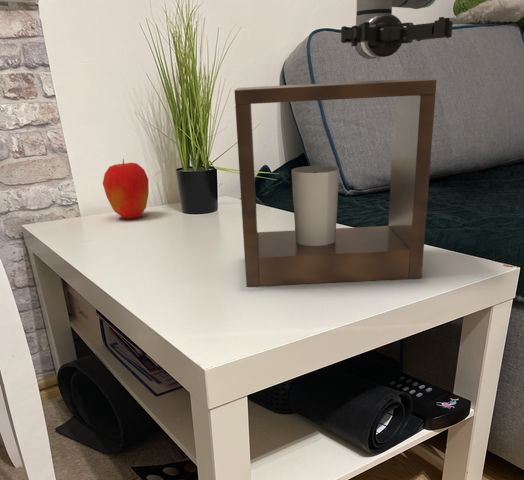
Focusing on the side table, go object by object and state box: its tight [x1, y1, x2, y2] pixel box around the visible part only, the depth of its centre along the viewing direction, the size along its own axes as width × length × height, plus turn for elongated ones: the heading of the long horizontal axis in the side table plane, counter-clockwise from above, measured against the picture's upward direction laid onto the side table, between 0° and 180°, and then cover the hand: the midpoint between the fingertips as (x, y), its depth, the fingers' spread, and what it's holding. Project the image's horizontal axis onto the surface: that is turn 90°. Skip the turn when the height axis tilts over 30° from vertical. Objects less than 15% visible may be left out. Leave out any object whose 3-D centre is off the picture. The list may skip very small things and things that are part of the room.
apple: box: [102, 158, 150, 220], centre depth 120 cm, size 9×9×12 cm
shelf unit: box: [233, 78, 438, 288], centre depth 80 cm, size 24×14×25 cm, turn 91°
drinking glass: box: [290, 165, 340, 246], centre depth 81 cm, size 7×7×10 cm
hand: (406, 28), depth 98 cm, fingers open, 13 cm apart
